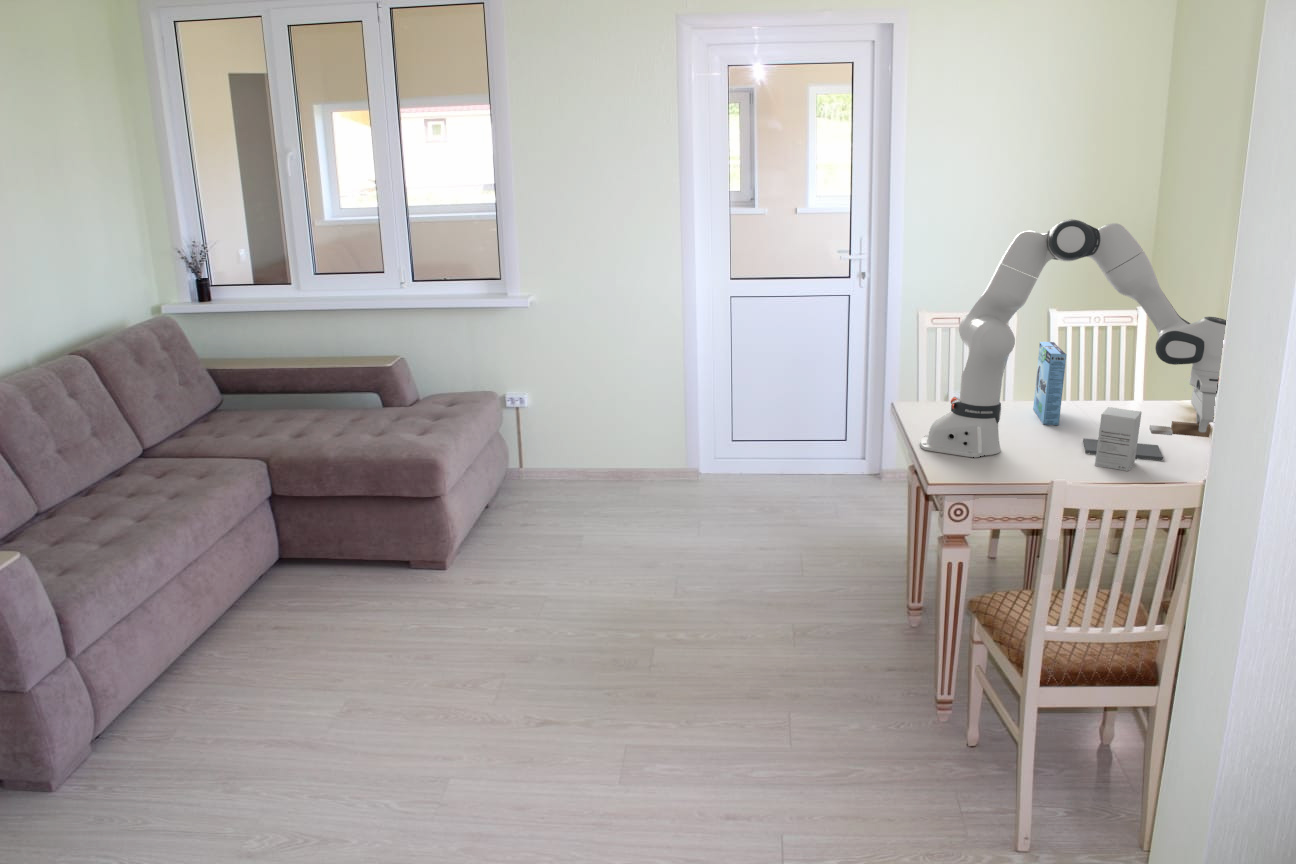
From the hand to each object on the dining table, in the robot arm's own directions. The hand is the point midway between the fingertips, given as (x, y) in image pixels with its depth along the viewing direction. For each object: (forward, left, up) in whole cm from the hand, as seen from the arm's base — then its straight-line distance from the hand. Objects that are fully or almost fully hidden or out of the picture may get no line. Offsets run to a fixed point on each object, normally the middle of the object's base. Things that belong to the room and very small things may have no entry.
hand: (1200, 429), depth 264 cm
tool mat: (-17, +14, -12) cm, 25 cm away
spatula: (-5, 0, -2) cm, 5 cm away
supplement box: (-20, 0, -12) cm, 23 cm away
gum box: (-37, +45, -12) cm, 59 cm away
